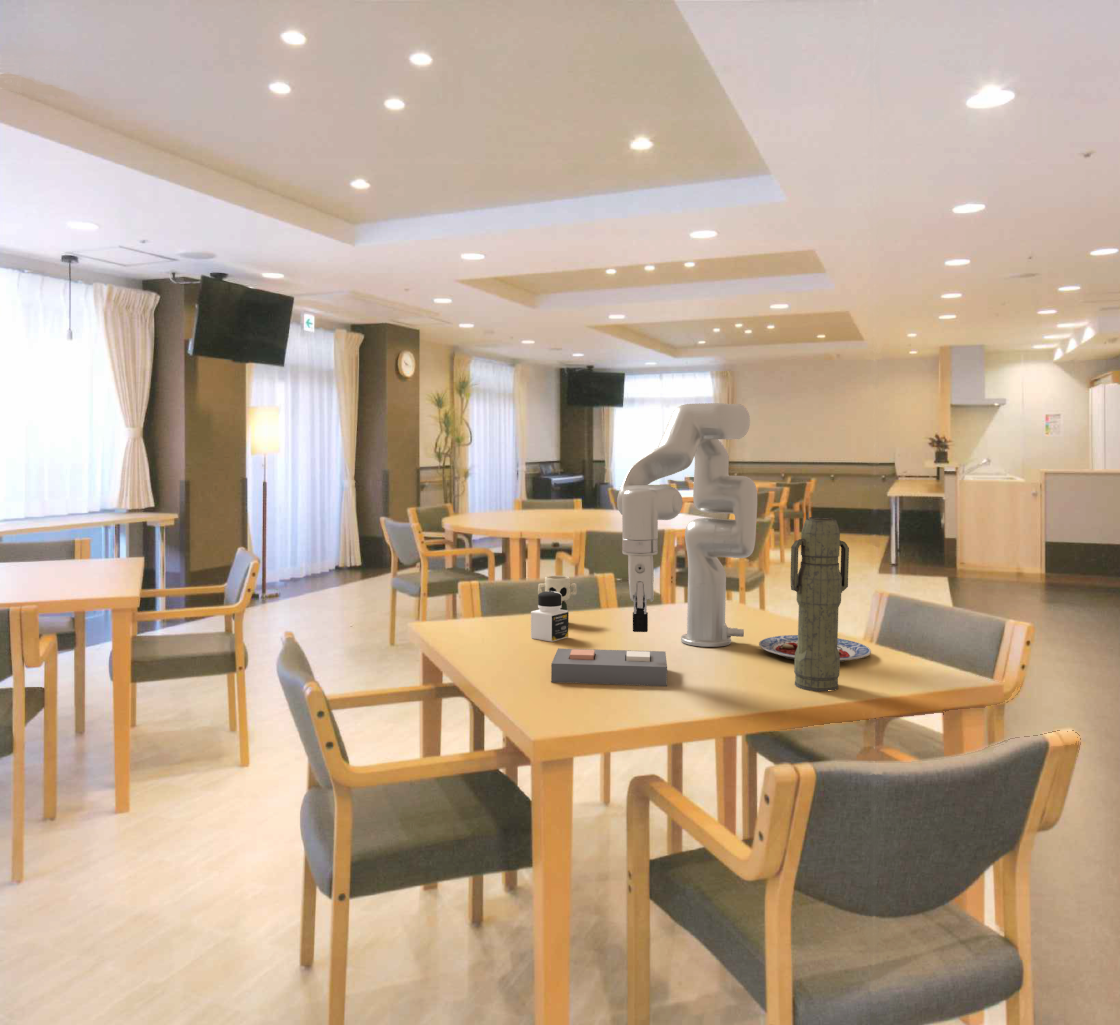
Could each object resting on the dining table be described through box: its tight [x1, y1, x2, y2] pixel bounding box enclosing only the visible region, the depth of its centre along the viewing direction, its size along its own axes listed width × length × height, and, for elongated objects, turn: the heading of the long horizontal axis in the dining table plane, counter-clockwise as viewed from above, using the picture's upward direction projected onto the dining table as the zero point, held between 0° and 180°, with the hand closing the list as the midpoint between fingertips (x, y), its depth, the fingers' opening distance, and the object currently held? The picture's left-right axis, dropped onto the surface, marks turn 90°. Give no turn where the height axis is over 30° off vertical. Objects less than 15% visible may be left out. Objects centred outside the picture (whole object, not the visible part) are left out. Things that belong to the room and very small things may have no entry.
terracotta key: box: [570, 648, 595, 660], centre depth 187 cm, size 5×5×3 cm
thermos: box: [790, 516, 850, 692], centre depth 178 cm, size 9×12×35 cm
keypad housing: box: [550, 647, 668, 687], centre depth 186 cm, size 24×14×4 cm, turn 85°
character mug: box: [537, 575, 578, 611], centre depth 243 cm, size 11×7×13 cm, turn 93°
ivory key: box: [626, 650, 650, 662], centre depth 185 cm, size 5×5×3 cm
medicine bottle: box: [530, 590, 569, 643], centre depth 223 cm, size 7×7×12 cm
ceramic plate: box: [758, 634, 872, 663], centre depth 207 cm, size 26×26×3 cm
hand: (640, 630), depth 186 cm, fingers closed
